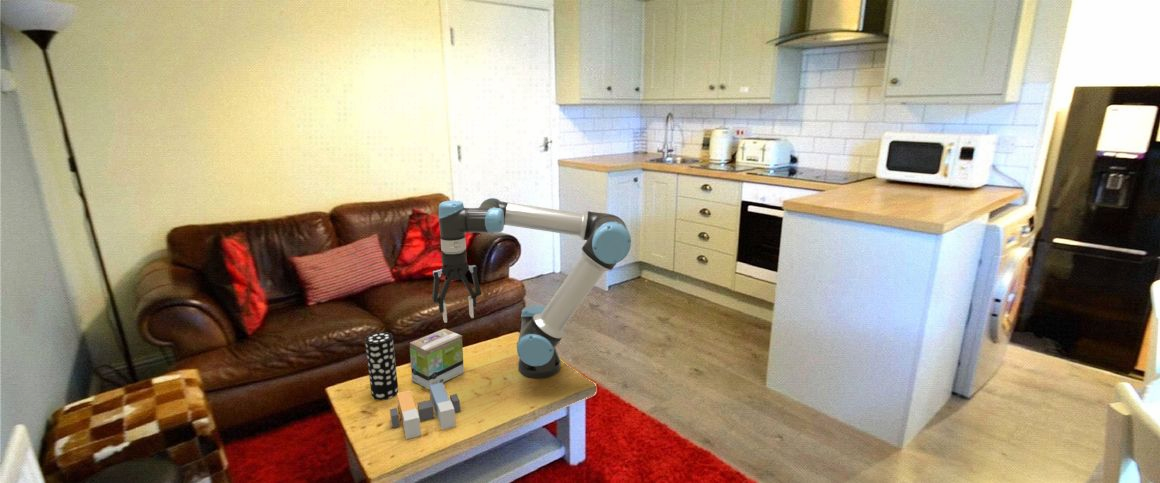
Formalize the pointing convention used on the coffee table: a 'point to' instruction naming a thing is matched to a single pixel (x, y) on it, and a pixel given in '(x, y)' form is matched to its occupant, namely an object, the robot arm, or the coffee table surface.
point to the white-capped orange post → (409, 414)
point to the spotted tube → (381, 365)
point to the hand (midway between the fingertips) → (458, 318)
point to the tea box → (436, 358)
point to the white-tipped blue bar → (442, 406)
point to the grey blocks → (424, 410)
